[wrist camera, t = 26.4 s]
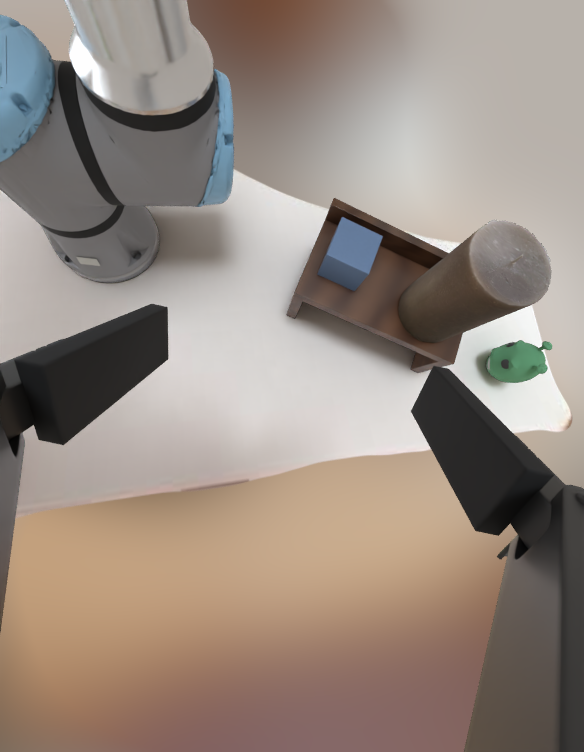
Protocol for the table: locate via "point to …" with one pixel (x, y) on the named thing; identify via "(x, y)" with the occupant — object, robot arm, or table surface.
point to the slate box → (350, 254)
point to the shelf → (375, 286)
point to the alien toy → (517, 361)
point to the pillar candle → (477, 283)
